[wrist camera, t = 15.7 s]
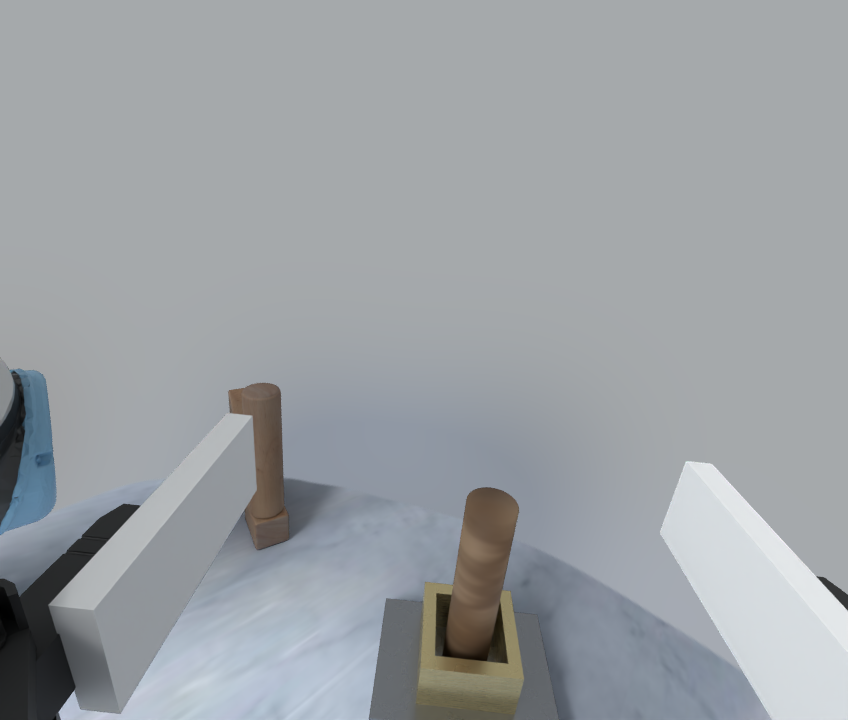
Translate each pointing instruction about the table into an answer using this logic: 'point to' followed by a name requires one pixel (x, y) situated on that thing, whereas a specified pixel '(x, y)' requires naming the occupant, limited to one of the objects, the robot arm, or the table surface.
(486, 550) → the wooden cylinder
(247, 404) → the wooden block stack
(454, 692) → the yellow socket on base
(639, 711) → the table surface
